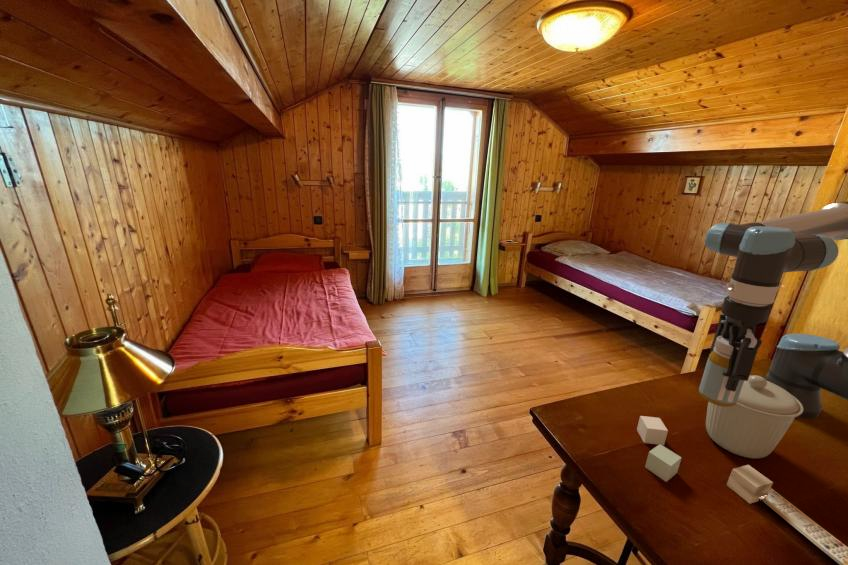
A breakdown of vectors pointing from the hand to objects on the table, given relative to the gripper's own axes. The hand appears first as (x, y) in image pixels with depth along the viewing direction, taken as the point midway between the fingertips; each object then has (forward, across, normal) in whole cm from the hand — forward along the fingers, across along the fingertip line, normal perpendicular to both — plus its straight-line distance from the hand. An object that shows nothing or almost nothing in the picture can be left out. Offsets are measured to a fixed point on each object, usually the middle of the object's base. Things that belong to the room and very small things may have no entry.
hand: (718, 391), depth 82 cm
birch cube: (+22, +6, +8) cm, 24 cm away
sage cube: (+22, +5, -9) cm, 24 cm away
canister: (+22, -12, +12) cm, 28 cm away
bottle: (+2, 0, 0) cm, 2 cm away
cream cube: (+22, -6, -9) cm, 24 cm away
